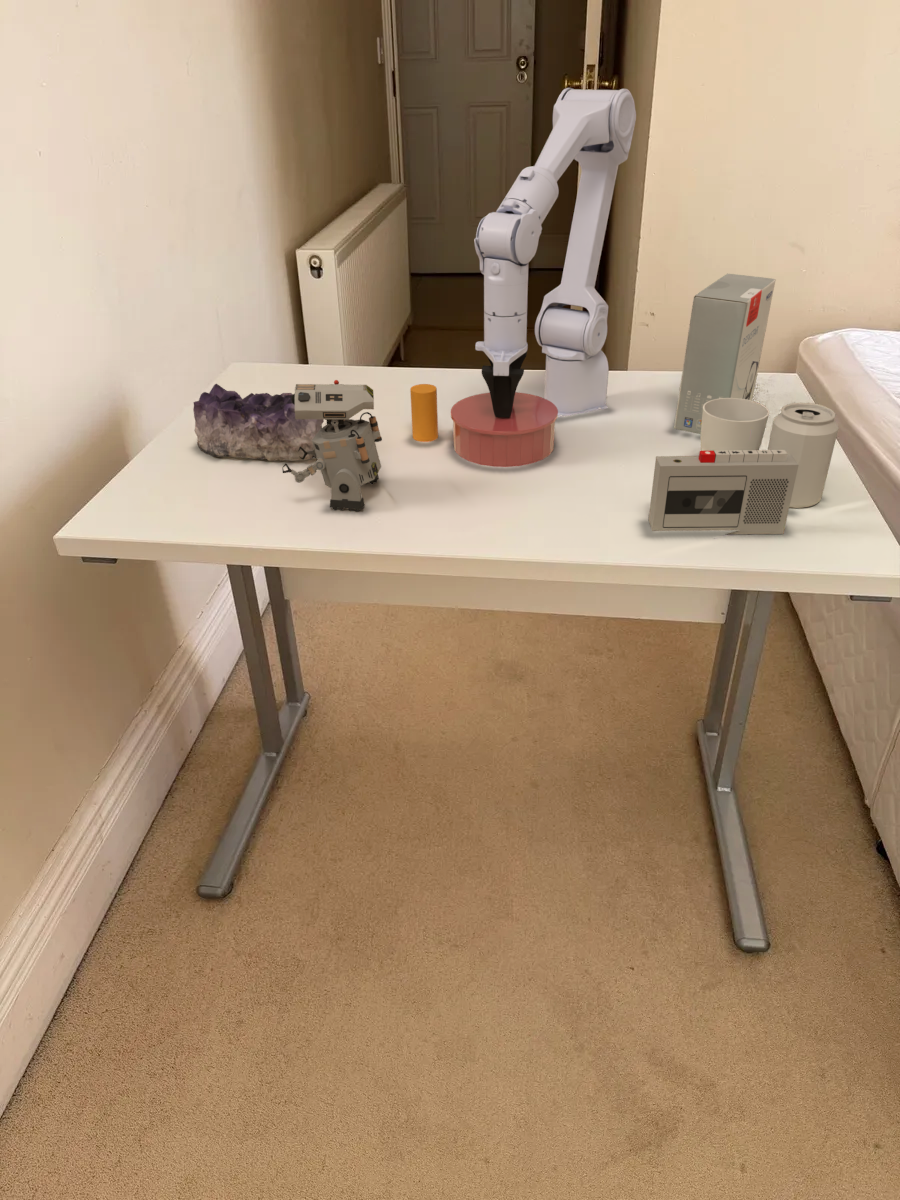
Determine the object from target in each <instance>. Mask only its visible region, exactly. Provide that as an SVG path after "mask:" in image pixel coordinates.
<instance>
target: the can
mask: <svg viewBox="0 0 900 1200" xmlns="http://www.w3.org/2000/svg"><path fill="white" fill-rule="evenodd" d="M836 417H837V414H836V412H835V411H834V410H833V409H831V408H830V407H827V406H825V405H822V404H819V403H813V402H791V403H787V404H785V405H783V406H782V407H781V408H780V413H778V414H777V415H776V416H775V417H774V418H773V420H772V425H771V430H770V435H769V440H768V446H767V450H785V451H786V452H787V455H792V456H793V458H794V459H795V460H796V462H797V463H798V470H797V475H796V479H795V484H794V488H793V493H792V497H791V502H790V506H789V509H790V508H791V509H803V508H805V509H806V508H810V507H812V506H815V505H817V504H818V503H820V502H821V501H822V498H823V494H824V490H825V486H826V481H827V477H828V474H829V469H830V465H831V461H832V458H833V452H834V448H835V444H836V441H837V436H838V433H839V428H840V426H839V424H838V422H837V421H836V420H835V419H836Z"/></svg>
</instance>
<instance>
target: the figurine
mask: <svg viewBox="0 0 900 1200" xmlns="http://www.w3.org/2000/svg"><path fill="white" fill-rule="evenodd" d="M292 394H293V395H292V397H291V401H292V403H293V404H294V405H295V419H324V420H325V421H326V424H325V425H323V426H322V428H321V429H320V430H319V431H318V433H317V434H316V435H315V437H314V438H313V439H312V443H313V448H312V450H311V451H305V450H304V449H303V448H302V447H301V446H300V447H299V450H300V449H301V450H302V451H303V452H304V456H303V458H301V457H300V456H299V457H300V458H301V459H302V460H301V461H305V460H304V458H305V457H306V455H307V454H308V455H310V454H312V455H313V456H314V457H317V458H316V459H317V460H316V461H315V463H314V464H312V463H311V464H309V465H307V466H306V468H305V469H303V470H299V471H296V470H294V469H293V468H291V467H290V466H289V465H288V463H287V462H285V463H284V465H283V466H282V469H281V471H282V474H287V473H290V474H291V475H293V476H294V480H295V482H296V483H300V484H301V483H302V482H304V481H305V479H306V478H308V477H310V476H313V475H315V474H316V473H317V471H320V473H321V476H322V479H323V483H324V485H325V486H326V487H327V488H330V499H329V508H331V509H332V510H333V511H337V510H339V511H343V510H344V509H347V510H348V511H350V512H353V511H354V510H355V512H359V511H360V510H363V509H364V507H365V504H366V503H365V500H364V497H363V494H362V489H361V486H364V485H367V484H368V483H369V484H370V485H374V484H375V483H378V481H379V472H380V470H381V468H382V463H381V459H380V456H379V451H378V448H377V444H376V443H379V442H382V440H383V437H382V436H381V432H380V429H379V423H378V420H377V416H374V415H372V414H371V413H370V412H367V411H366V412H363V413H362V414H361V415H360V417H359V419H353V417H354V416H356V415H357V414H359V413H360V412H362V411H363V410H374V409H375V397H374V389H373V388H372V387H370V386H368V385H367V384H343V383H341V384H340V381H339V380H338V379H335V380H334V381H333V383H331V384H330V383H329V384H328V383H327V384H324V383H320V384H318V383H316V384H315V383H314V384H313V383H297V384H295V387H294V393H292ZM364 415H369V416H370V417H368V420H366V419H362V417H364ZM351 418H352V419H351ZM299 450H298V452H299ZM284 467H286V470H284Z"/></svg>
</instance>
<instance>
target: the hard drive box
mask: <svg viewBox="0 0 900 1200" xmlns="http://www.w3.org/2000/svg"><path fill="white" fill-rule="evenodd" d="M776 281H777V279H776V278H772V277H771V278H770V277H763V276H753V275H745V274H738V273H737V274H735V273H726V274H724V275H722V276H721V277H720V278H718V279H717V280H715V281H714V282H713V283H711V284H709V285H708V286H707V287H705V288H703V289H702V290H701V291H699V292H698V293H697V294H696V293H695V295H694V296H693V300H692V306H691V311H690V318H689V326H688V332H687V339H686V346H685V352H684V359H683V365H682V373H681V378H680V384H679V391H678V398H677V403H676V404H677V405H676V410H675V418H674V423H673V424H674V425H673V429H675V430H677V431H683V432H688V433H693V434H698V435H701V425H702V413H703V405H704V404H705V403H706V402H708V401H711V400H714V399H719V398H740V399H747V400H751V401H754V400H753V399H754V393H755V389H756V385H757V378H758V374H759V368H760V363H761V357H762V352H763V346H764V341H765V337H766V331H767V326H768V320H769V315H770V310H771V305H772V299H773V295H774V290H775V285H776Z"/></svg>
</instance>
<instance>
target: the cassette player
mask: <svg viewBox="0 0 900 1200" xmlns="http://www.w3.org/2000/svg"><path fill="white" fill-rule="evenodd" d="M797 470H798V463H797V462H796V460H795V459H794V458H793V456H792V455H787V452H786V451H785V450H768V449H759V450H721V451H701V450H699V453H698V455H661V456H659V455H657V456H655V463H654V469H653V477H652V487H651V496H650V502H649V513H648V523H649V526H650V529H651V532H690V531H691V532H694V531H695V532H699V531H700V532H702V531H707V532H708V531H709V532H711V531H719V532H720V531H722V532H723V531H731V532H727V533H726V535H784V533H785V529H786V524H787V520H788V515H789V511H790V508H789V506H790V502H791V497H792V493H793V488H794V484H795V479H796V475H797Z"/></svg>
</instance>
